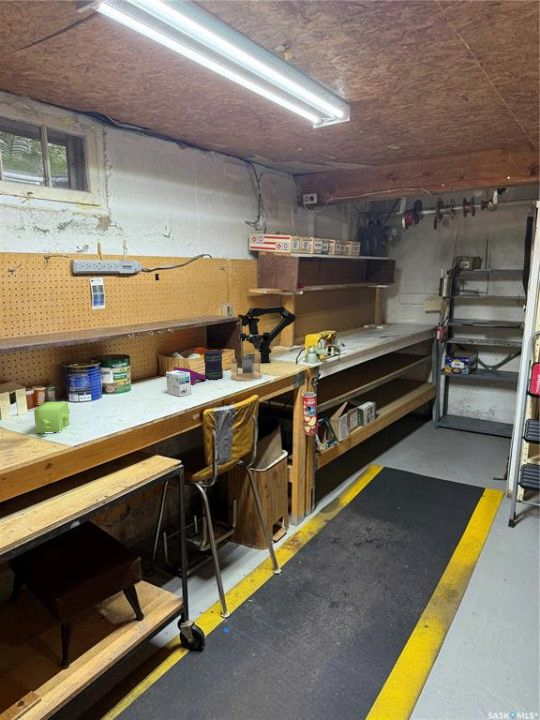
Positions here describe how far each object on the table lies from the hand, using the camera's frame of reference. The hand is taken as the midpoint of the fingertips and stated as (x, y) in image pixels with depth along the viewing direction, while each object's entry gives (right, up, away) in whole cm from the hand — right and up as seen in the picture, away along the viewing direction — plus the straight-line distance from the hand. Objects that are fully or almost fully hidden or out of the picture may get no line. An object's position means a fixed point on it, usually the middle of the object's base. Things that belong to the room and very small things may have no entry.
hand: (255, 348), depth 282 cm
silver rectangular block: (-3, -15, -17) cm, 23 cm away
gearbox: (-72, -33, -108) cm, 133 cm away
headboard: (-4, -17, -33) cm, 38 cm away
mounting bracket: (-33, -19, -36) cm, 53 cm away
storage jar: (-22, -17, -27) cm, 39 cm away
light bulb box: (-35, -23, -59) cm, 73 cm away
